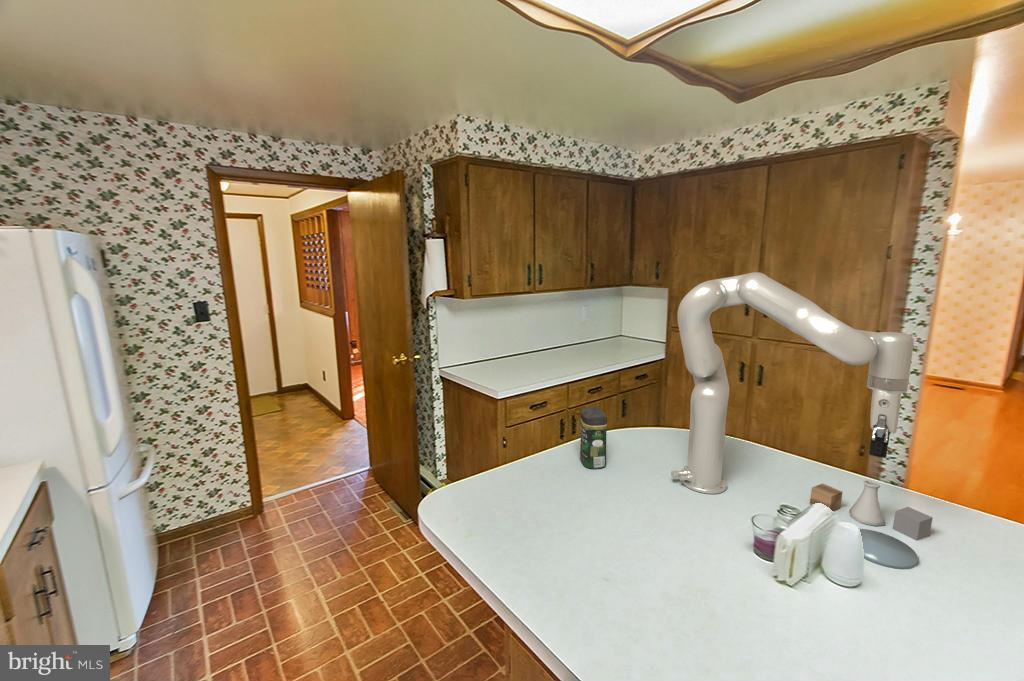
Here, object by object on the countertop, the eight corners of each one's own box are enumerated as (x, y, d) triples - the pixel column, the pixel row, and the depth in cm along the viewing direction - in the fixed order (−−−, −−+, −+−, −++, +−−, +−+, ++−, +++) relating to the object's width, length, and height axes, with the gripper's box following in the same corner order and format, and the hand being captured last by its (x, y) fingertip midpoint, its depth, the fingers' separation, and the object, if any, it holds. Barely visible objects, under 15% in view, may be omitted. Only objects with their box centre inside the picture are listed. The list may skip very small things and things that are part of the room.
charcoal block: (916, 541, 104) (919, 521, 104) (892, 529, 109) (895, 510, 108) (929, 536, 106) (932, 517, 105) (904, 524, 111) (908, 506, 110)
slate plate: (879, 571, 94) (879, 567, 94) (830, 534, 107) (830, 530, 107) (933, 566, 96) (934, 562, 96) (878, 530, 108) (879, 526, 108)
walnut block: (829, 513, 116) (831, 496, 115) (809, 504, 120) (811, 487, 119) (840, 508, 118) (842, 491, 117) (820, 499, 123) (822, 483, 122)
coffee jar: (577, 457, 150) (578, 405, 147) (600, 456, 151) (601, 404, 147) (584, 470, 140) (586, 415, 137) (609, 469, 141) (610, 414, 138)
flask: (891, 528, 109) (897, 491, 107) (858, 525, 111) (863, 488, 109) (874, 512, 116) (879, 477, 114) (843, 509, 118) (848, 474, 116)
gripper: (907, 394, 98) (897, 466, 101) (908, 378, 111) (899, 442, 114) (864, 388, 103) (856, 457, 106) (870, 373, 116) (862, 435, 119)
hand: (878, 449), depth 110 cm, fingers open, 9 cm apart
